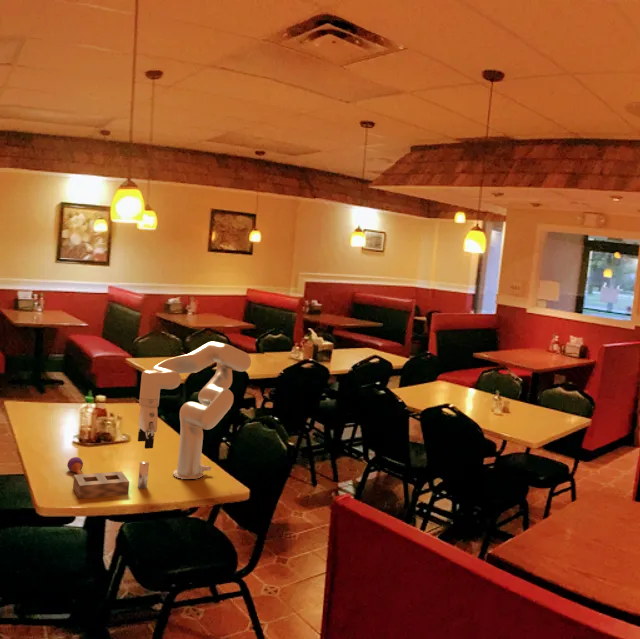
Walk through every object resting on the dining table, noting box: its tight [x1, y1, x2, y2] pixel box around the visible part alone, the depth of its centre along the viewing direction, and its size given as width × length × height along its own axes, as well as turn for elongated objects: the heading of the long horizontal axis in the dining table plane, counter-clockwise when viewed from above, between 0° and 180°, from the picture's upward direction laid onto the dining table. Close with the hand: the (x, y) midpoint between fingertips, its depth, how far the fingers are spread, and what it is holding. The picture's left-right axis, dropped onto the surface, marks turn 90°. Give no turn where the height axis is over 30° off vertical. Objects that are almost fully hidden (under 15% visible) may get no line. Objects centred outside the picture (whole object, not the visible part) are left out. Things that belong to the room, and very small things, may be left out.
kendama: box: [66, 456, 84, 475], centre depth 260 cm, size 6×6×20 cm
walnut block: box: [72, 470, 130, 500], centre depth 248 cm, size 18×12×5 cm, turn 121°
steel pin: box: [137, 460, 150, 490], centre depth 256 cm, size 4×4×10 cm
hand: (145, 444), depth 254 cm, fingers open, 9 cm apart
